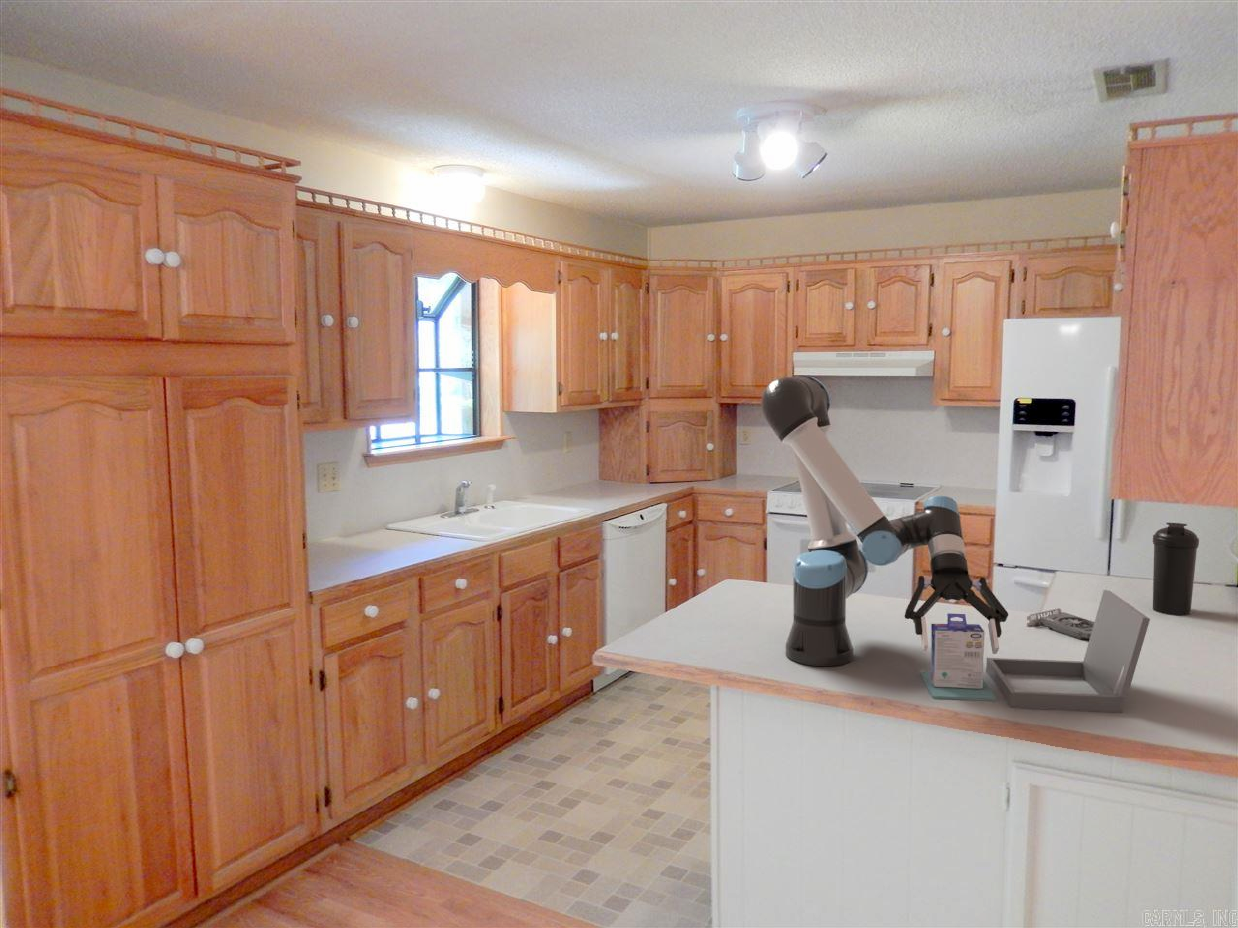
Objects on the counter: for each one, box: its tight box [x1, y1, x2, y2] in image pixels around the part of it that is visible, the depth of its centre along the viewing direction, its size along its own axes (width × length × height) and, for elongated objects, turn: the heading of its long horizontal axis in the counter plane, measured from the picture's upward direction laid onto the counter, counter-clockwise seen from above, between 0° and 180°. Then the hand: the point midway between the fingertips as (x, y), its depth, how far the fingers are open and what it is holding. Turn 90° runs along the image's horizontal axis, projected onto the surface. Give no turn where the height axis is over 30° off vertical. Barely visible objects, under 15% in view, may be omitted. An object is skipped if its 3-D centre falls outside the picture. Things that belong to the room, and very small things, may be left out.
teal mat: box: [920, 670, 997, 702], centre depth 183 cm, size 12×14×1 cm
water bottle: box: [1152, 522, 1200, 616], centre depth 231 cm, size 10×10×23 cm
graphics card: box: [1026, 607, 1095, 640], centre depth 217 cm, size 17×4×12 cm
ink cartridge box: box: [930, 612, 985, 689], centre depth 182 cm, size 10×6×14 cm, turn 80°
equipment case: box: [985, 589, 1151, 714], centre depth 178 cm, size 24×20×19 cm
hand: (960, 649), depth 180 cm, fingers open, 13 cm apart
